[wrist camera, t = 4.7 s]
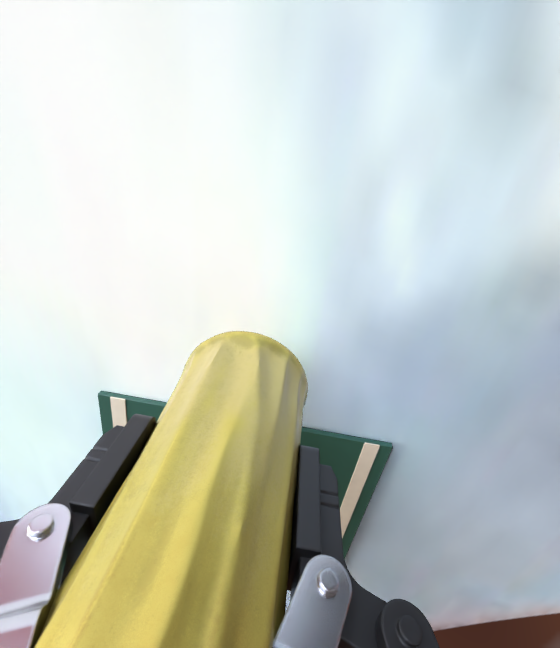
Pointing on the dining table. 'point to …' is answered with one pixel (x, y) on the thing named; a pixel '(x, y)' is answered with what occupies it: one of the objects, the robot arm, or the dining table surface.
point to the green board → (334, 449)
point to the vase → (198, 514)
